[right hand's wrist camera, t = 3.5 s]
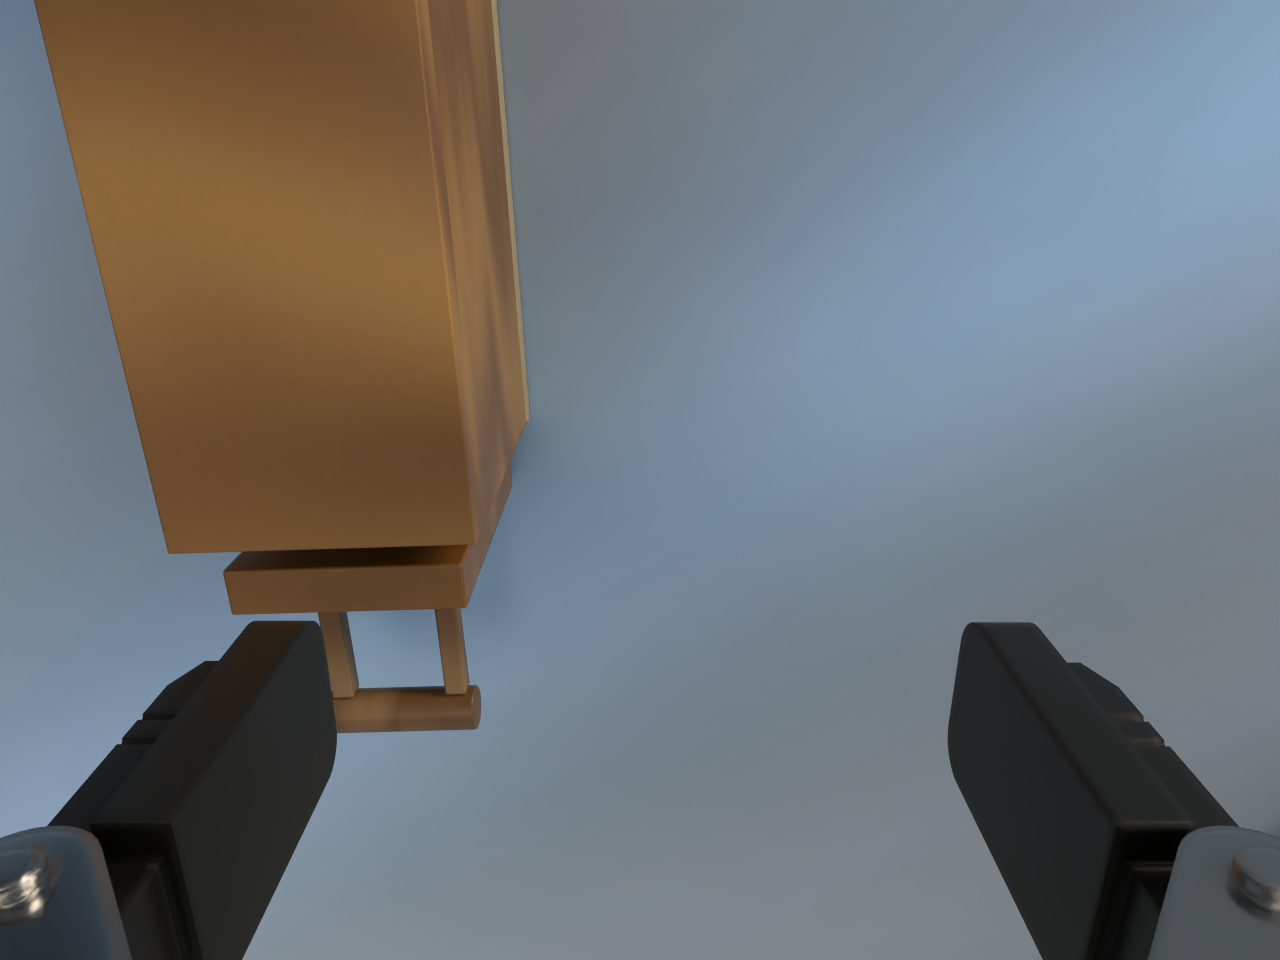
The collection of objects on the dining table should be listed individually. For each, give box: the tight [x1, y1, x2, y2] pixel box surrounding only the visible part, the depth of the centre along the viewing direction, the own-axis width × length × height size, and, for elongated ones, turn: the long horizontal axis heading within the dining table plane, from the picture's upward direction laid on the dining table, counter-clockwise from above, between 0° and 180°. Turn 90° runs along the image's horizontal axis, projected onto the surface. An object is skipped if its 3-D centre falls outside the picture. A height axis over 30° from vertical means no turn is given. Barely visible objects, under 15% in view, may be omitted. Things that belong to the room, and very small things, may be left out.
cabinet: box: [34, 0, 530, 554], centre depth 21 cm, size 20×7×10 cm, turn 2°
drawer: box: [223, 463, 512, 733], centre depth 23 cm, size 24×6×8 cm, turn 2°
